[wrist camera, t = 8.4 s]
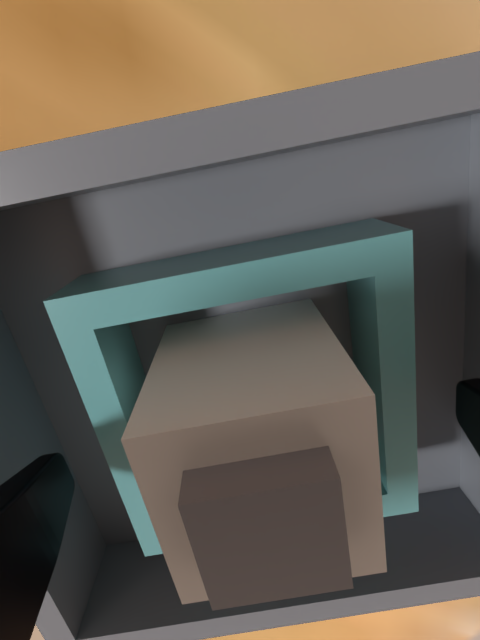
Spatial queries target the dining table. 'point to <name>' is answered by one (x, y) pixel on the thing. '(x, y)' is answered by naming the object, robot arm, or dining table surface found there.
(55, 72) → the dining table surface
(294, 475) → the cube with square boss
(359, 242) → the box
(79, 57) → the dining table surface
